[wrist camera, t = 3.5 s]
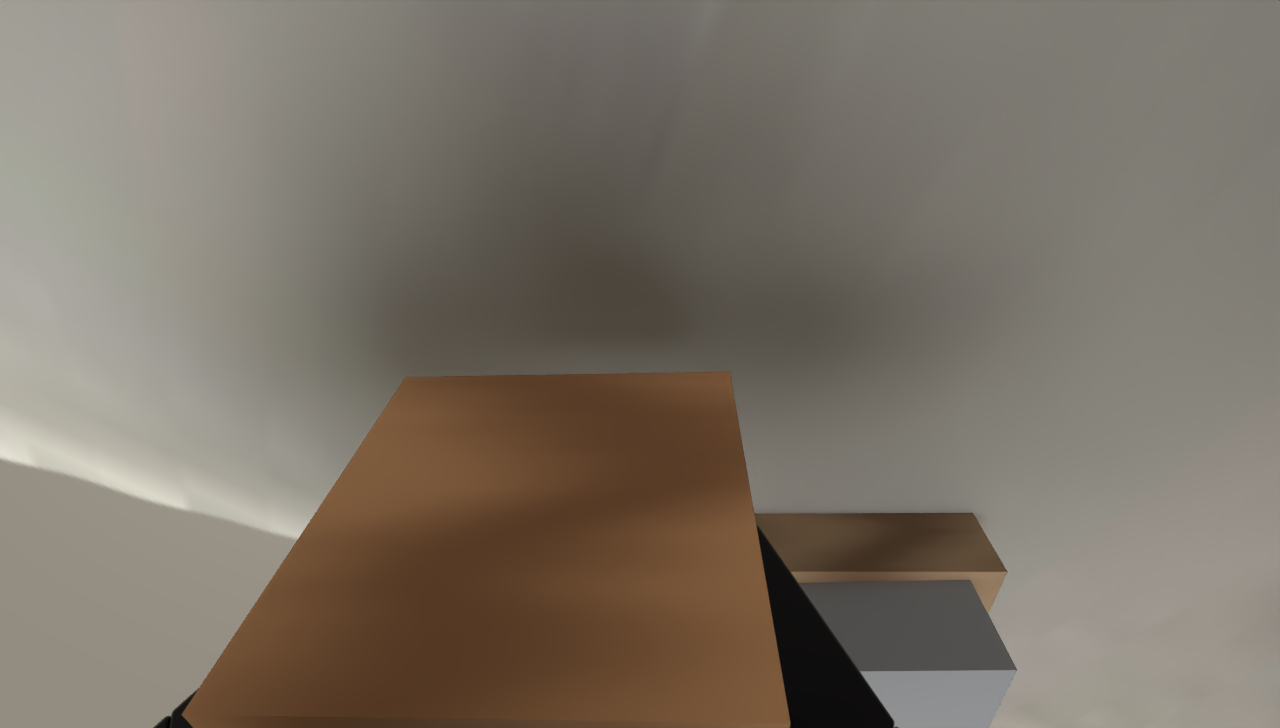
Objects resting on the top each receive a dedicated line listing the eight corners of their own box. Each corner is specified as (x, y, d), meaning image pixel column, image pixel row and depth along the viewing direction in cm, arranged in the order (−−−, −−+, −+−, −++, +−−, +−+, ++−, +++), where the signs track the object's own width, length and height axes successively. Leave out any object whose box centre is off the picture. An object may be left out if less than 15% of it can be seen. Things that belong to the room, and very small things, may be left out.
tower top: (970, 580, 19) (1016, 669, 16) (929, 693, 23) (962, 781, 20) (754, 584, 19) (767, 672, 17) (749, 694, 23) (759, 780, 21)
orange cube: (730, 371, 9) (789, 723, 5) (719, 582, 11) (751, 926, 7) (405, 377, 9) (181, 714, 5) (470, 582, 12) (362, 912, 8)
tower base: (966, 502, 21) (1007, 571, 19) (919, 632, 26) (947, 702, 23) (746, 504, 22) (757, 571, 19) (736, 630, 26) (744, 699, 23)
